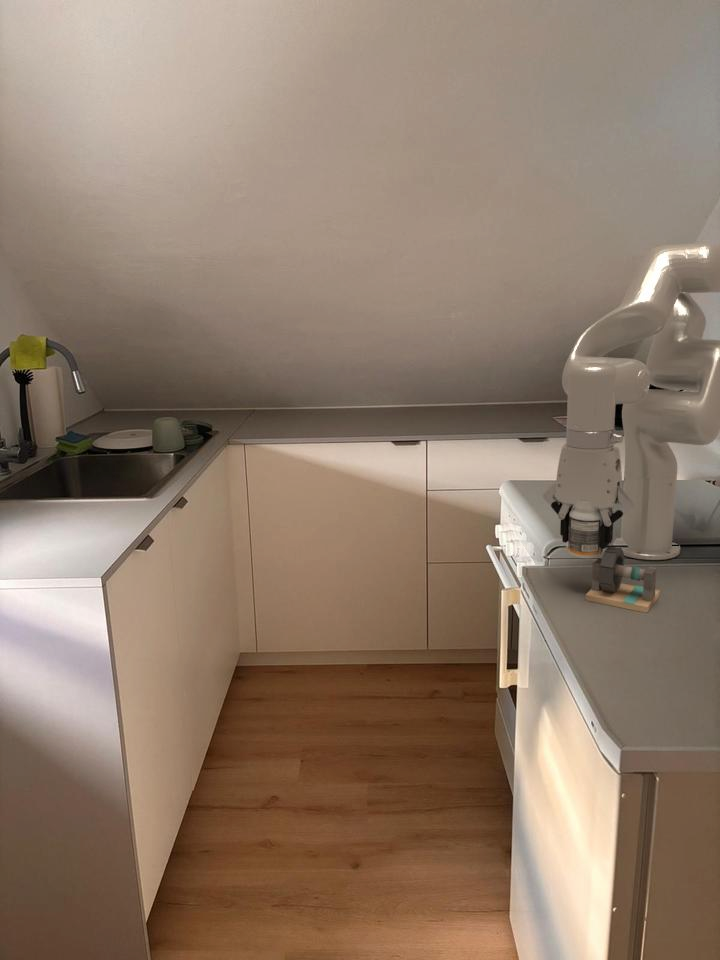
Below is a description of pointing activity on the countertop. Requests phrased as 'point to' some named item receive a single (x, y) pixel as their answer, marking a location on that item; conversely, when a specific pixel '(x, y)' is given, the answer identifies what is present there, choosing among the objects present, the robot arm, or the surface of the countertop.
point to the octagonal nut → (610, 569)
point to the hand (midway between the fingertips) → (585, 542)
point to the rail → (626, 588)
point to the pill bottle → (584, 531)
